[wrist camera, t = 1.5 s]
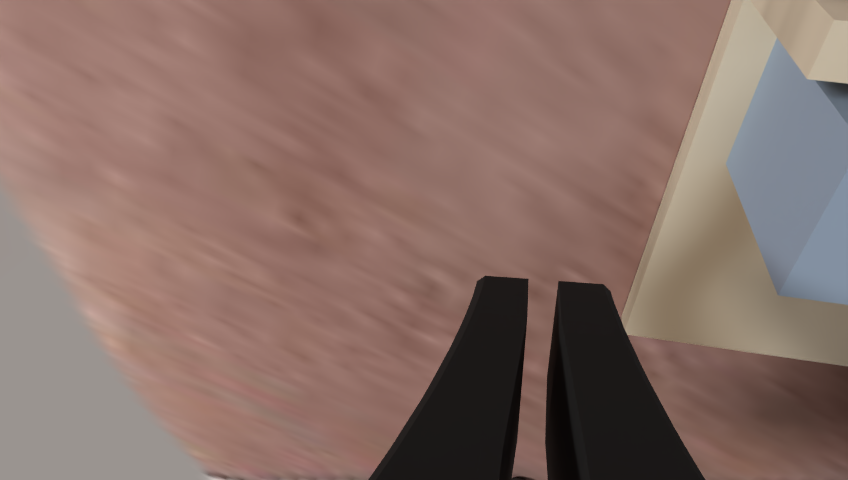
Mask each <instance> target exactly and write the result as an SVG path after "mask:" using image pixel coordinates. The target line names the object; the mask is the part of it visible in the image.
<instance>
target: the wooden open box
mask: <svg viewBox="0 0 848 480" xmlns="http://www.w3.org/2000/svg"><path fill="white" fill-rule="evenodd" d="M777 38H778V40H779V41H780V42H781V44H782V45H783V47H784V48H785V49H786V51H787V52H788V54H789V55H790V56H791V58H792V59H793V60H794V62H795V63H796V65H797V66H798V67H799V69H800V70H801V72H802V73H803V74H804V76H805V77H806V78H807V79H809V80H819V81H828V82H838V83H847V84H848V0H731V3H730V6H729V9H728V11H727V14H726V17H725V20H724V23H723V26H722V29H721V32H720V34H719V37H718V40H717V43H716V46H715V49H714V52H713V55H712V58H711V60H710V63H709V66H708V69H707V72H706V75H705V78H704V81H703V83H702V86H701V89H700V92H699V95H698V98H697V101H696V104H695V106H694V109H693V112H692V115H691V118H690V121H689V124H688V127H687V129H686V132H685V135H684V138H683V141H682V144H681V147H680V150H679V152H678V155H677V158H676V161H675V164H674V167H673V170H672V173H671V176H670V178H669V181H668V184H667V187H666V190H665V193H664V196H663V199H662V201H661V204H660V207H659V210H658V213H657V216H656V219H655V222H654V224H653V227H652V230H651V233H650V236H649V239H648V242H647V245H646V247H645V250H644V253H643V256H642V259H641V262H640V265H639V268H638V271H637V273H636V276H635V279H634V282H633V285H632V288H631V291H630V294H629V296H628V299H627V302H626V305H625V308H624V311H623V314H622V324H623V327H624V329H625V331H626V333H627V335H634V336H640V337H647V338H654V339H661V340H668V341H675V342H682V343H689V344H696V345H703V346H710V347H716V348H723V349H730V350H737V351H744V352H751V353H758V354H765V355H772V356H779V357H786V358H792V359H799V360H806V361H813V362H820V363H827V364H834V365H841V366H848V305H845V304H838V303H830V302H823V301H816V300H808V299H801V298H794V297H786V296H779V295H777V292H776V289H775V287H774V284H773V282H772V279H771V277H770V274H769V272H768V269H767V267H766V264H765V262H764V259H763V257H762V254H761V252H760V249H759V247H758V244H757V241H756V239H755V236H754V234H753V231H752V229H751V226H750V224H749V221H748V219H747V216H746V214H745V211H744V209H743V206H742V204H741V201H740V199H739V196H738V193H737V191H736V188H735V186H734V183H733V181H732V178H731V176H730V173H729V171H728V168H727V166H726V162H727V159H728V157H729V154H730V152H731V149H732V147H733V144H734V142H735V139H736V137H737V135H738V132H739V130H740V127H741V125H742V122H743V120H744V117H745V115H746V112H747V110H748V108H749V105H750V103H751V100H752V98H753V95H754V93H755V90H756V88H757V85H758V83H759V80H760V78H761V76H762V73H763V71H764V68H765V66H766V63H767V61H768V58H769V56H770V53H771V51H772V49H773V46H774V44H775V41H776V39H777Z"/></svg>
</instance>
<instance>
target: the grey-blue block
mask: <svg viewBox="0 0 848 480" xmlns="http://www.w3.org/2000/svg"><path fill="white" fill-rule="evenodd" d="M726 166H727V168H728V171H729V173H730V176H731V178H732V181H733V183H734V186H735V188H736V191H737V193H738V196H739V199H740V201H741V204H742V206H743V209H744V211H745V214H746V216H747V219H748V221H749V224H750V226H751V229H752V231H753V234H754V236H755V239H756V241H757V244H758V247H759V249H760V252H761V254H762V257H763V259H764V262H765V264H766V267H767V269H768V272H769V274H770V277H771V279H772V282H773V284H774V287H775V289H776V292H777V295H779V296H786V297H794V298H801V299H808V300H816V301H823V302H830V303H838V304H845V305H848V84H847V83H838V82H828V81H819V80H809V79H807V78H806V77H805V76H804V74H803V73H802V72H801V70H800V69H799V67H798V66H797V65H796V63H795V62H794V60H793V59H792V58H791V56H790V55H789V54H788V52H787V51H786V49H785V48H784V47H783V45H782V44H781V42H780V41H779V40H778V38H777V39H776V41H775V44H774V46H773V49H772V51H771V53H770V56H769V58H768V61H767V63H766V66H765V68H764V71H763V73H762V76H761V78H760V80H759V83H758V85H757V88H756V90H755V93H754V95H753V98H752V100H751V103H750V105H749V108H748V110H747V112H746V115H745V117H744V120H743V122H742V125H741V127H740V130H739V132H738V135H737V137H736V139H735V142H734V144H733V147H732V149H731V152H730V154H729V157H728V159H727V162H726Z"/></svg>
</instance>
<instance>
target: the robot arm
mask: <svg viewBox="0 0 848 480" xmlns="http://www.w3.org/2000/svg"><path fill="white" fill-rule="evenodd" d="M527 307H528V279H521V278H507V277H493V276H484V277H483V278H481V279H480V280H478V281H477V284H476V287H475V291H474V294H473V297H472V300H471V302H470V305H469V308H468V310H467V313H466V315H465V317H464V320H463V322H462V324H461V326H460V328H459V331H458V333H457V335H456V337H455V339H454V341H453V343H452V345H451V347H450V349H449V351H448V353H447V355H446V356H445V358H444V360H443V362H442V364H441V366H440V367H439V369H438V371H437V373H436V375H435V377H434V378H433V380H432V382H431V384H430V386H429V387H428V389H427V391H426V393H425V394H424V396H423V398H422V399H421V401H420V403H419V404H418V406H417V407H416V409H415V410H414V412H413V414H412V415H411V417H410V418H409V420H408V421H407V423H406V425H405V426H404V428H403V429H402V431H401V432H400V434H399V436H398V437H397V439H396V440H395V442H394V443H393V445H392V447H391V448H390V450H389V451H388V452H387V454H386V455H385V457H384V458H383V460H382V461H381V463H380V464H379V465H378V467H377V468H376V470H375V471H374V473H373V474H372V475H371V477H370V478H369V479H368V480H511V478H512V471H513V464H514V457H515V450H516V444H517V435H518V423H519V411H520V398H521V386H522V374H523V362H524V350H525V338H526V325H527ZM545 444H546V459H547V473H548V480H705V478H704V477H703V475H702V474H701V472H700V470H699V469H698V467H697V465H696V464H695V462H694V461H693V459H692V457H691V456H690V454H689V452H688V451H687V449H686V447H685V445H684V444H683V442H682V440H681V439H680V437H679V435H678V433H677V432H676V430H675V428H674V426H673V425H672V423H671V421H670V419H669V417H668V415H667V413H666V412H665V410H664V408H663V406H662V404H661V402H660V400H659V399H658V397H657V395H656V393H655V391H654V389H653V387H652V386H651V384H650V382H649V380H648V378H647V376H646V374H645V372H644V370H643V368H642V366H641V364H640V362H639V360H638V357H637V355H636V353H635V351H634V349H633V347H632V345H631V342H630V340H629V338H628V336H627V333H626V331H625V329H624V327H623V324H622V322H621V319H620V317H619V314H618V312H617V309H616V306H615V304H614V301H613V298H612V295H611V292H610V291H609V290H608V289H607V287H606V286H605V285H604V284H591V283H577V282H563V281H559V282H558V291H557V299H556V307H555V316H554V324H553V332H552V341H551V349H550V357H549V366H548V374H547V400H546V437H545Z"/></svg>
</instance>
